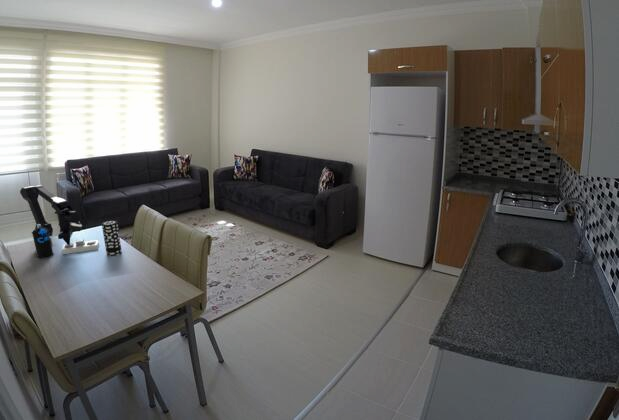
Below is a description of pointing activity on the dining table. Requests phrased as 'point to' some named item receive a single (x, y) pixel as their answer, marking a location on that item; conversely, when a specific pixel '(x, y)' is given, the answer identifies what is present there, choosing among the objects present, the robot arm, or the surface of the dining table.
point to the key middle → (80, 242)
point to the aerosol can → (42, 242)
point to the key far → (91, 242)
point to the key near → (69, 245)
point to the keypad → (80, 248)
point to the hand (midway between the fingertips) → (68, 244)
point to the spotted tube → (111, 238)
